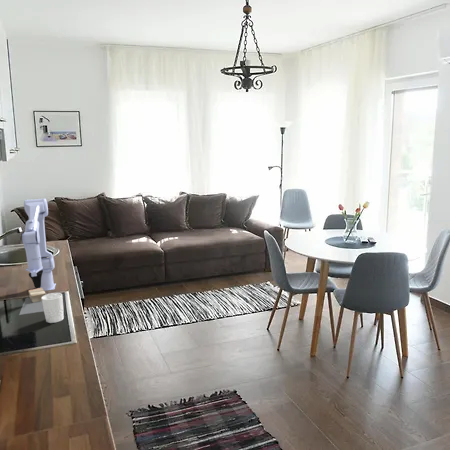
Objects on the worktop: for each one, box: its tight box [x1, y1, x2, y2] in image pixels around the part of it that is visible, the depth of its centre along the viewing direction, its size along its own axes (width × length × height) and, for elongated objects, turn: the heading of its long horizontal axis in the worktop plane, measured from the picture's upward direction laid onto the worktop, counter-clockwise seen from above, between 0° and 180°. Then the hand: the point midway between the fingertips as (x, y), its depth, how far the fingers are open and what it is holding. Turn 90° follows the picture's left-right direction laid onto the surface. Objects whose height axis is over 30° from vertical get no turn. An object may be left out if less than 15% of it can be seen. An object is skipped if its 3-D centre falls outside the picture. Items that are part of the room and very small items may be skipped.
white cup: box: [41, 292, 65, 324], centre depth 185 cm, size 8×8×10 cm
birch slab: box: [28, 288, 47, 302], centre depth 212 cm, size 3×6×10 cm
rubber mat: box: [18, 297, 44, 316], centre depth 205 cm, size 22×14×1 cm, turn 16°
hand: (38, 287), depth 206 cm, fingers closed
